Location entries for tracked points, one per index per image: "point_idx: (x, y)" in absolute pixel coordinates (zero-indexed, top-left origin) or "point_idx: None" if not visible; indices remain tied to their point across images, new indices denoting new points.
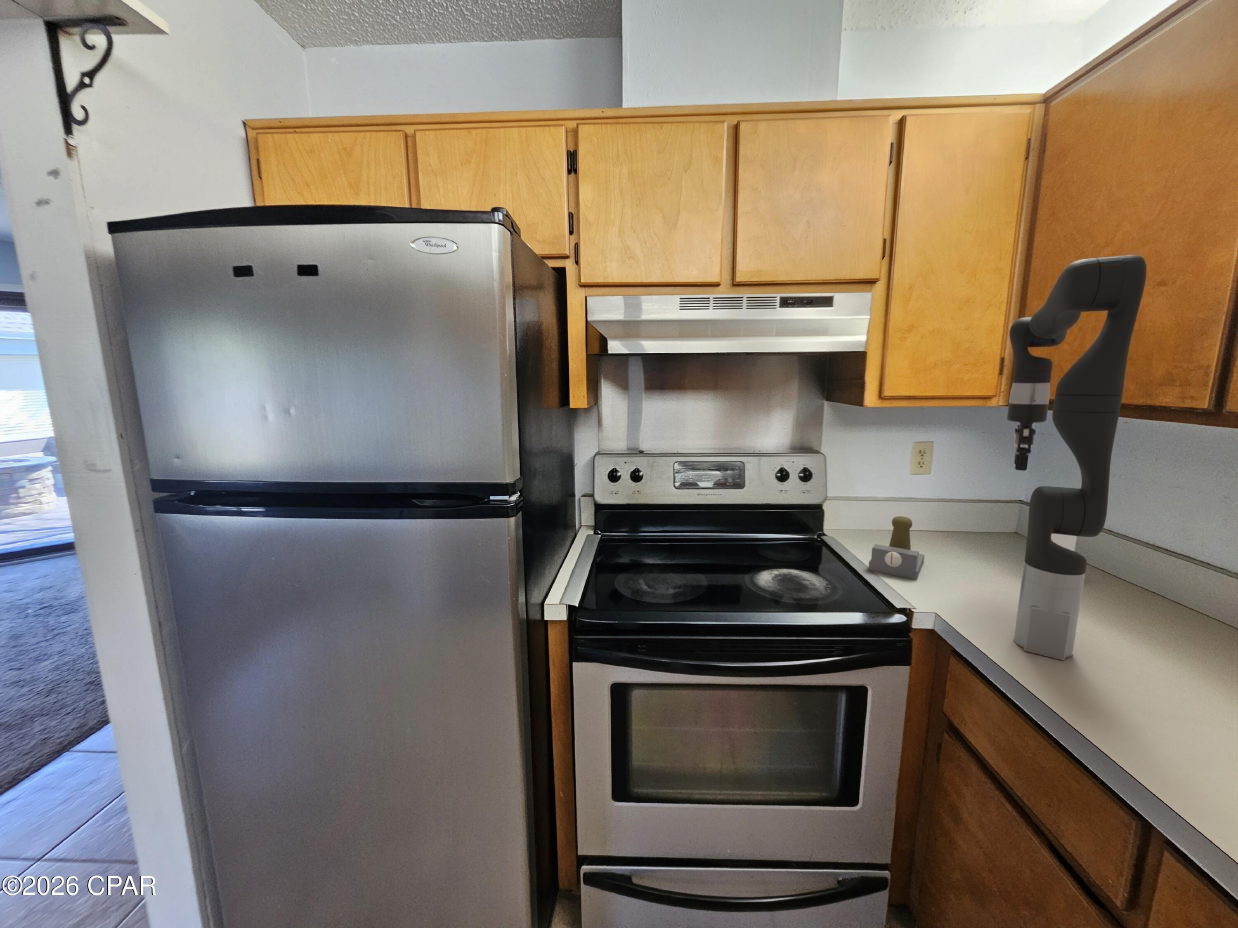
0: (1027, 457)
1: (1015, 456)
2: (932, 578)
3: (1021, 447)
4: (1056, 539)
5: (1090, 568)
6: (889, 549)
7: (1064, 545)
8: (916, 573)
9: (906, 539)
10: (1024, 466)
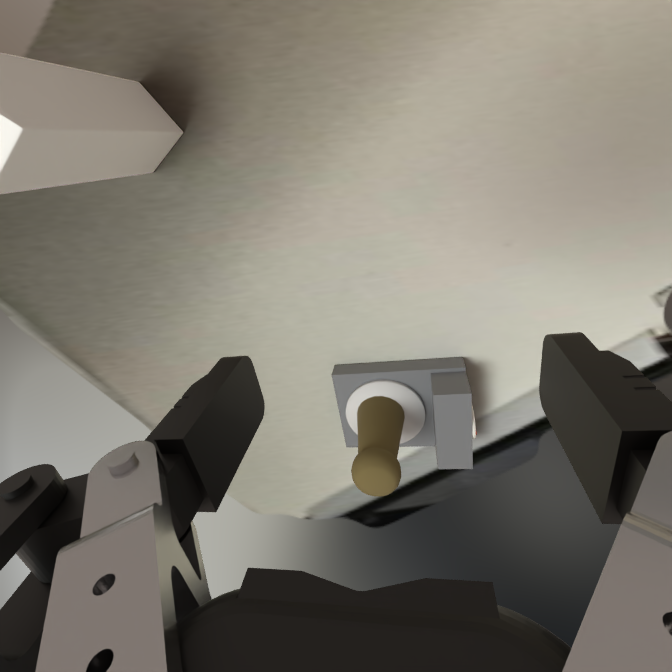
0: (655, 418)
1: (240, 460)
2: (430, 334)
3: (171, 514)
4: (115, 122)
5: (52, 41)
6: (460, 442)
7: (106, 99)
8: (464, 366)
9: (391, 431)
10: (626, 366)
